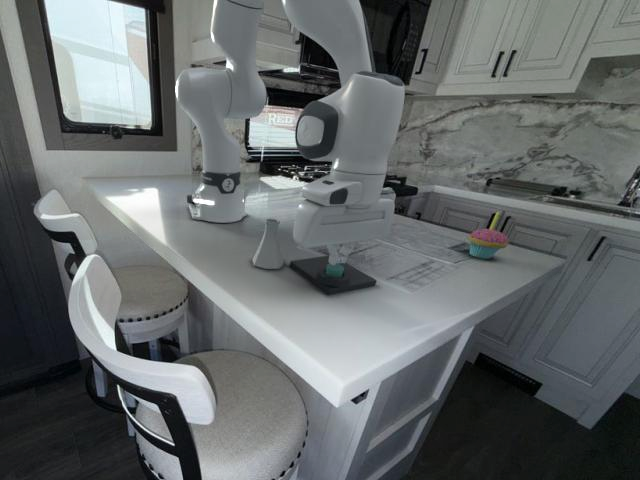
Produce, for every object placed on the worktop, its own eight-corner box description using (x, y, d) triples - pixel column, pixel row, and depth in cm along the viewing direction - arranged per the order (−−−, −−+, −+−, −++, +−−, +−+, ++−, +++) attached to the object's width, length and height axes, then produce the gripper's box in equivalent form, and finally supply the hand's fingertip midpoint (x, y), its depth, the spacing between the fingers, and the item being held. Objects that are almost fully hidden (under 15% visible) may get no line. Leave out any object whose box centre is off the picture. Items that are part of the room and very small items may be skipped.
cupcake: (458, 247, 86) (477, 204, 80) (493, 253, 84) (515, 209, 78) (466, 258, 79) (488, 212, 73) (504, 264, 77) (530, 217, 71)
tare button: (322, 272, 61) (323, 264, 60) (334, 270, 62) (336, 262, 61) (332, 279, 59) (334, 271, 58) (345, 277, 60) (347, 268, 59)
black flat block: (289, 266, 69) (291, 254, 68) (331, 260, 74) (334, 248, 72) (328, 296, 58) (331, 282, 57) (375, 286, 63) (379, 273, 61)
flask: (282, 272, 66) (288, 227, 61) (249, 267, 68) (252, 223, 62) (284, 259, 73) (290, 217, 67) (254, 255, 74) (258, 214, 69)
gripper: (384, 183, 58) (365, 251, 65) (294, 187, 51) (283, 263, 58) (412, 190, 54) (388, 262, 61) (317, 195, 46) (302, 277, 53)
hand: (336, 263), depth 59 cm, fingers closed
